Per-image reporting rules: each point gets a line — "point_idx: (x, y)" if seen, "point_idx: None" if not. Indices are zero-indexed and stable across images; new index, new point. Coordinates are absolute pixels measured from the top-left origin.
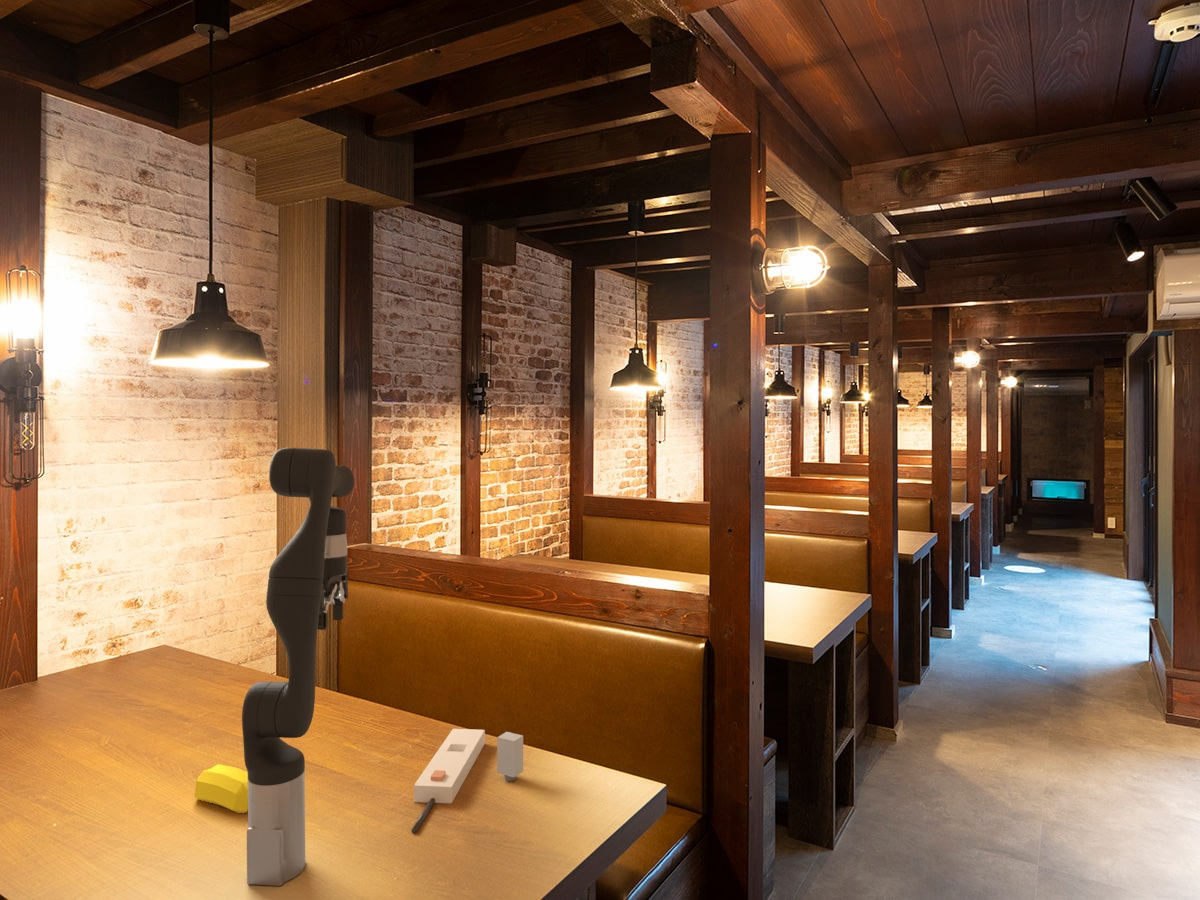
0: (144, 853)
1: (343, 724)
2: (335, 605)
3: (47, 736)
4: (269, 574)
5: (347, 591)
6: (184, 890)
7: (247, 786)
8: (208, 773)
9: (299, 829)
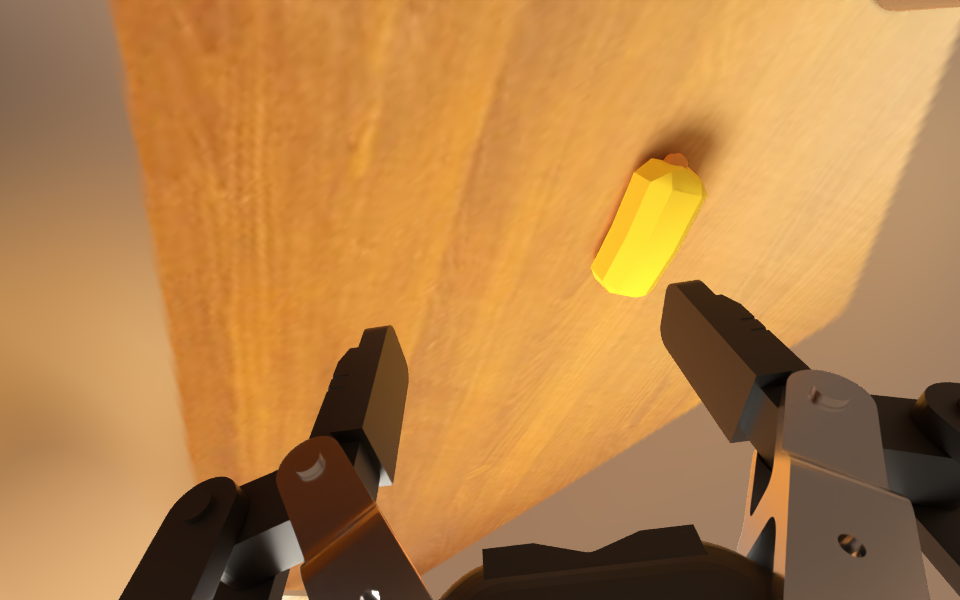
0: (789, 235)
1: (280, 232)
2: (387, 460)
3: (485, 511)
4: None
5: (141, 586)
6: (932, 95)
7: (696, 187)
8: (654, 281)
9: None
